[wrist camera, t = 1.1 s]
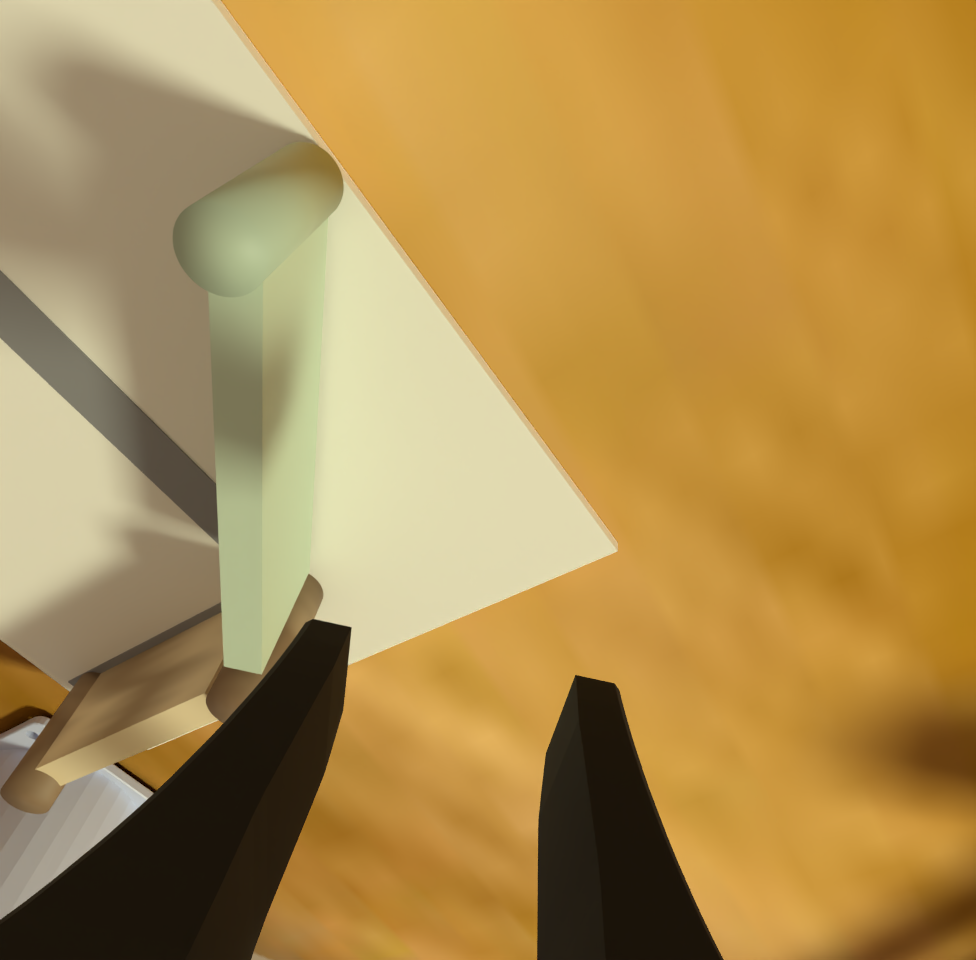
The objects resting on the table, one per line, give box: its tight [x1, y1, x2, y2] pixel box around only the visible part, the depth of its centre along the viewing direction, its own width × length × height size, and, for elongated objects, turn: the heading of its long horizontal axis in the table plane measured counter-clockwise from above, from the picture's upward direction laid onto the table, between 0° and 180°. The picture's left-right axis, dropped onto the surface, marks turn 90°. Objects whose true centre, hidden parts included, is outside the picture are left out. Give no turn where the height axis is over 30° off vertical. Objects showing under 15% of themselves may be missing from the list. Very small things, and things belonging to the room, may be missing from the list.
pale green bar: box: [173, 142, 344, 675], centre depth 17 cm, size 12×2×5 cm, turn 170°
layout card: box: [0, 0, 618, 750], centre depth 22 cm, size 21×20×1 cm
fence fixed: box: [0, 574, 323, 814], centre depth 24 cm, size 12×2×5 cm, turn 125°
